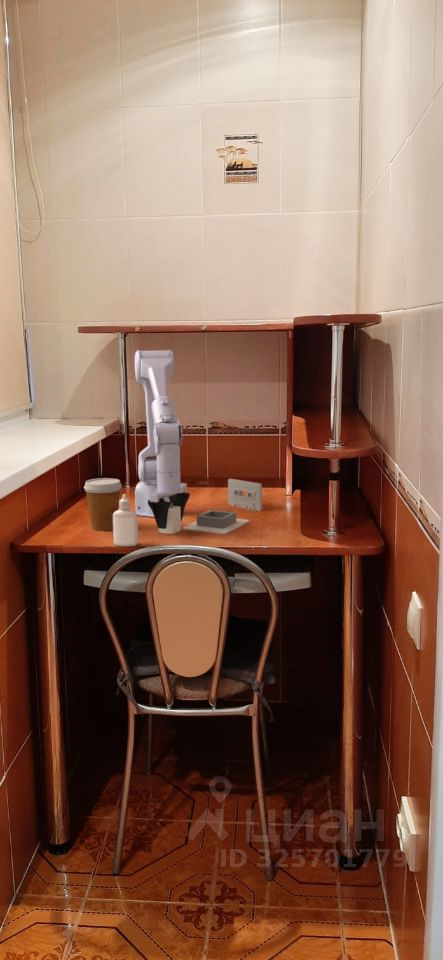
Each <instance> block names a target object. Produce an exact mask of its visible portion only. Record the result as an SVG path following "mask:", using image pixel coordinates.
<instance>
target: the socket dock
mask: <svg viewBox="0 0 443 960" xmlns="http://www.w3.org/2000/svg"><path fill="white" fill-rule="evenodd" d="M250 521H251V520H250V519H245V518H244V519H242V518H237V512H235V511H234V512H233V511H225V510H216V509H214V510H213V509H209V510H207V511H205V512H203V513H200V514H198V515H196V521H194V522H192V523H190V524H187V525H186V526H183V527H182V530H189V531H195V532H203V533H211V534H219V535H220V534H221V535H227V534H229V533H230V532H232V531H235V530H236V529H239V528H240V527H243V526H244V525H246V524H248V523H250Z"/></svg>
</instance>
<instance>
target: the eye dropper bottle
mask: <svg viewBox="0 0 443 960" xmlns="http://www.w3.org/2000/svg"><path fill="white" fill-rule="evenodd" d="M138 523H139V521H138V515H137V513H136V510H135V511H134V510H133V509H131V500H130V499H128V498H127V494H126V493H123V494H122V498H121V499H119V509H118V510H117V511H115V512H114V513H113V529H112V532H113V533H112V535H113V545H114V546H120V547H134V546H135V547H136V545H138V544H139V527H138V526H139V525H138Z"/></svg>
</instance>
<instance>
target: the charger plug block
mask: <svg viewBox="0 0 443 960" xmlns="http://www.w3.org/2000/svg"><path fill="white" fill-rule="evenodd" d="M181 524H182V521H181V511H180V507H176V506H173V503H171V504H170V507H169V510H168V515H167V526H166V529H161V528H158V532H159V533H161V534H162V533H163V534H168V535H169V534H170V535H174V534H176V533H178V532H180V531H182V525H181Z"/></svg>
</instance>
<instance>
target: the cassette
mask: <svg viewBox="0 0 443 960" xmlns="http://www.w3.org/2000/svg"><path fill="white" fill-rule="evenodd" d="M245 492H246V495H245V494H244V493H245ZM227 497H228V498H227V501H228V503H227V505H228V504H230V505H233V506H232V507H234V506H237V507H236V508H239V507H242V508H241V509H244V508H246V509H245V510H249V509H251V510H250V511H256V510H258V511H257V512H261V510H262V511H263V484H262V483H260V482H254V481H253V482H252V481H248V480H241V479H236V478H228V480H227ZM230 505H229V506H230Z"/></svg>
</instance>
